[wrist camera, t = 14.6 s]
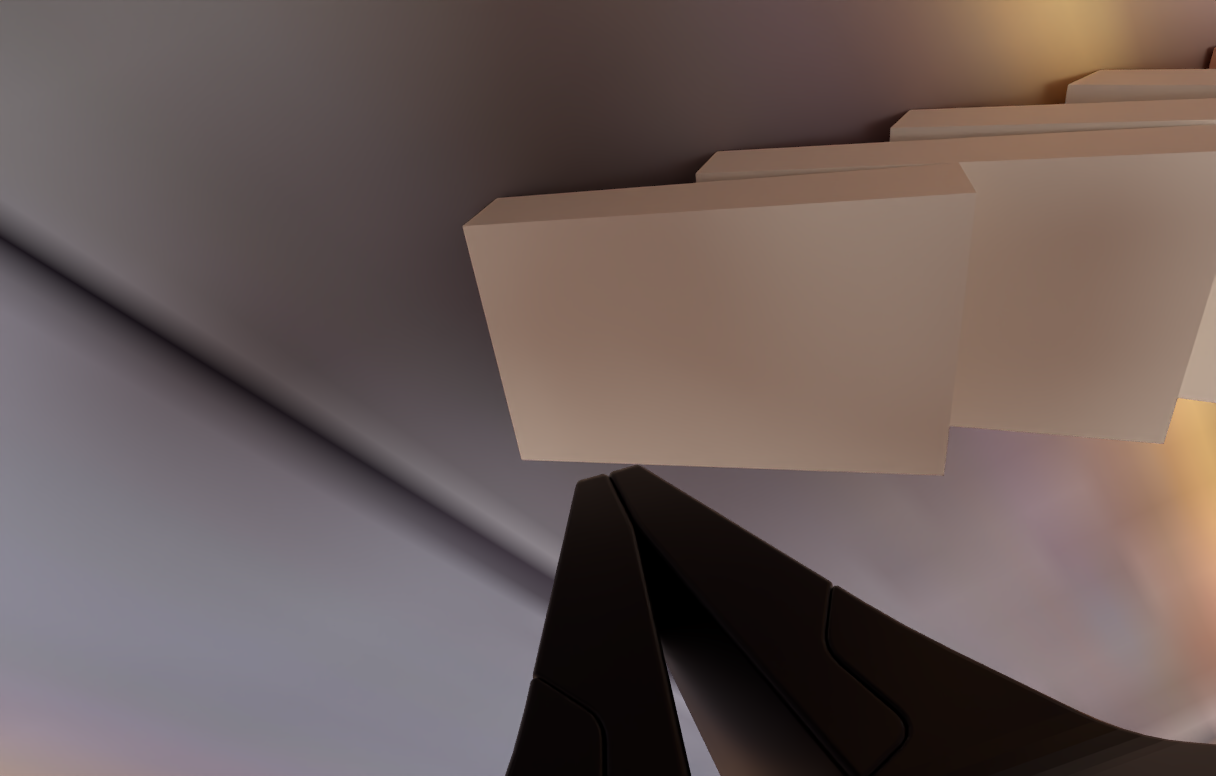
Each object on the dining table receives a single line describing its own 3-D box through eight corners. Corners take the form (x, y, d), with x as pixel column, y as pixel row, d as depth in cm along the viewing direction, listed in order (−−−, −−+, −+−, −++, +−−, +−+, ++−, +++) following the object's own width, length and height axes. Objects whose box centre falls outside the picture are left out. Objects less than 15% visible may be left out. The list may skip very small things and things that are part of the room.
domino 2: (695, 173, 13) (1253, 149, 10) (716, 151, 14) (1218, 123, 11) (713, 406, 15) (1163, 443, 12) (729, 369, 17) (1143, 395, 14)
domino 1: (462, 226, 12) (976, 192, 10) (497, 197, 14) (959, 163, 11) (521, 459, 15) (943, 475, 12) (546, 417, 16) (932, 424, 14)
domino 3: (890, 127, 14) (1517, 111, 10) (910, 109, 15) (1478, 88, 11) (878, 357, 16) (1371, 423, 12) (895, 326, 17) (1352, 378, 13)
